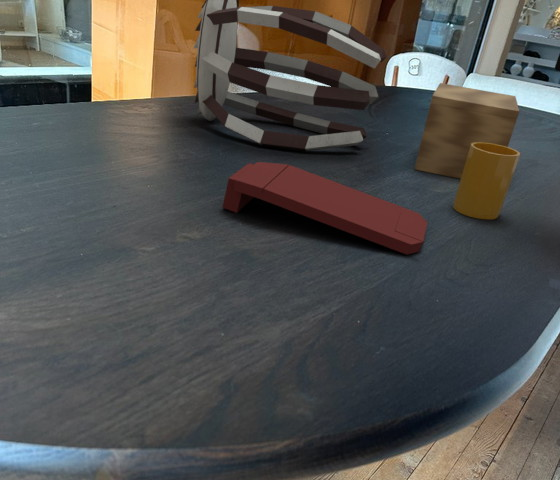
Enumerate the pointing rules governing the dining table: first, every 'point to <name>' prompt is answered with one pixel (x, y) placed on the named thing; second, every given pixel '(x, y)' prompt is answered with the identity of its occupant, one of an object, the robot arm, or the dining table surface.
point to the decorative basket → (234, 69)
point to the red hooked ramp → (327, 204)
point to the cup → (485, 180)
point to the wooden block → (463, 126)
